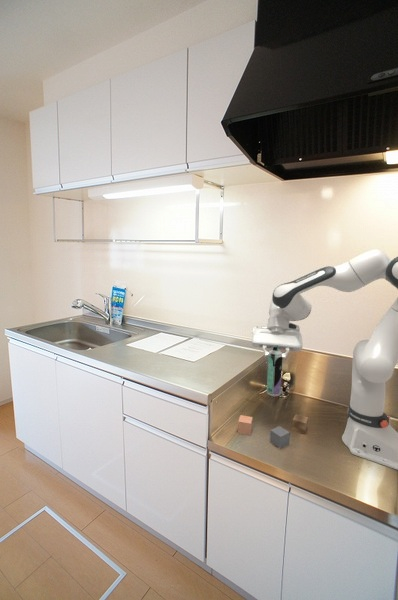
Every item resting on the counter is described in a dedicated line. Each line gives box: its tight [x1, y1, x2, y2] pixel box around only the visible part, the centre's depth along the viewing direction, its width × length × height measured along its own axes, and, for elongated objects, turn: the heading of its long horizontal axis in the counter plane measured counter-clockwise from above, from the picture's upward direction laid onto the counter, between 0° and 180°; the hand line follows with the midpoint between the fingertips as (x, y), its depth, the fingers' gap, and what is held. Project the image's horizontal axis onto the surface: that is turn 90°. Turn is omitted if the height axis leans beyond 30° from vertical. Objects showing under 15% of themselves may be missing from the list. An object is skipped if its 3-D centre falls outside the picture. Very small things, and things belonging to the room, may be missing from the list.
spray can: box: [266, 346, 283, 397], centre depth 121 cm, size 6×6×20 cm
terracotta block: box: [237, 414, 253, 436], centre depth 121 cm, size 5×5×5 cm
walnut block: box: [291, 413, 309, 435], centre depth 122 cm, size 5×5×5 cm
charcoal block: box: [269, 425, 291, 450], centre depth 114 cm, size 5×5×5 cm
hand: (275, 357), depth 119 cm, fingers closed on spray can, 5 cm apart
